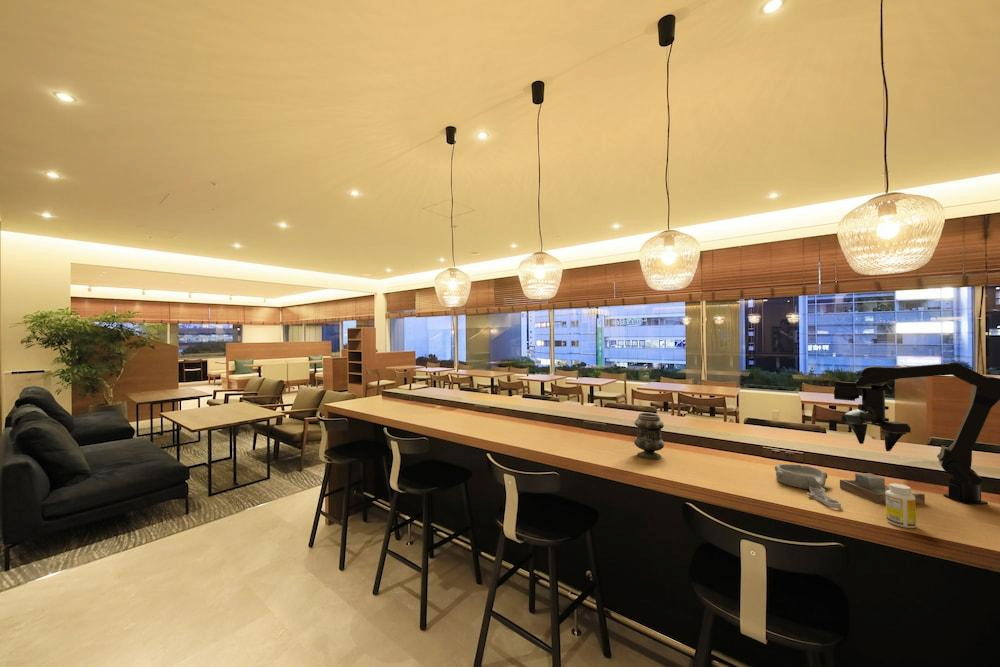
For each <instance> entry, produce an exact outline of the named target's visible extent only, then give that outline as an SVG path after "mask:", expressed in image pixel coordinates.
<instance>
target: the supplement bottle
mask: <svg viewBox="0 0 1000 667" xmlns="http://www.w3.org/2000/svg"><path fill="white" fill-rule="evenodd" d="M888 486H889V488H890V490H887V491H886V504H885V514H886V516H885V518H886V520H887V522H889V523H890V524H891V525H893V526H897V527H899V528H900V527H901V528H906V529H915V528H916V527H917V509H916V508H917V506H916V499H915V496H913V495H912V494H913V493H912V488H911V487H910V486H908V485H905V484H901V483H895V482H893V483H889V485H888Z"/></svg>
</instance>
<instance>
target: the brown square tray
mask: <svg viewBox="0 0 1000 667" xmlns="http://www.w3.org/2000/svg"><path fill="white" fill-rule="evenodd" d="M839 488H840V489H842V490H844V491H847V492H848V493H852V494H854V495H856V496H858V497H861V498H863V499H866V500H868V501H870V502H872V503H876V504H878V505H879V504H880V505H881V504H882V505H884V504H885V505H886V491H887V490H890V488H889V485H885V494H877V493H875V492H872V491H870V490H867V489H865V488H862V487H859V486H857V485H856V484H855V479H839ZM911 494H912V495H913V496H915V499H916V504H925V503H926V500H925V499H926V495H925V494H924V493H911Z"/></svg>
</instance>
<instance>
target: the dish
mask: <svg viewBox="0 0 1000 667" xmlns="http://www.w3.org/2000/svg"><path fill="white" fill-rule="evenodd" d="M774 471H775V475H776V480H777V481H778V482H781V484H784V485H787V486H790V487H791V486H792V487H796V488H800V489H808V490H809V486H810V487H812V488H815V487H816V486H820V487H822V488H823V489H824V487H825V485H826V481H827V479H828V473H827V472H826V471H823V470H822V469H819V468H817V467H813V466H809V465H801V464H794V463H793V464H792V463H785V464H784V463H781V464H780V463H779V464H778V465H775V466H774Z"/></svg>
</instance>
